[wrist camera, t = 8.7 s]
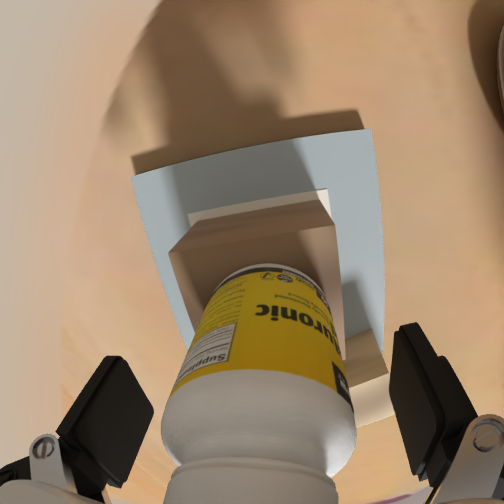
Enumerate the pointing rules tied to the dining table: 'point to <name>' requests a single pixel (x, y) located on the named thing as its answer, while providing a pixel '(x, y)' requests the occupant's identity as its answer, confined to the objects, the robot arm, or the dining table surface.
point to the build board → (271, 195)
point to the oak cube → (367, 379)
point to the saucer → (501, 67)
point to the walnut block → (260, 253)
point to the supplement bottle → (260, 396)
